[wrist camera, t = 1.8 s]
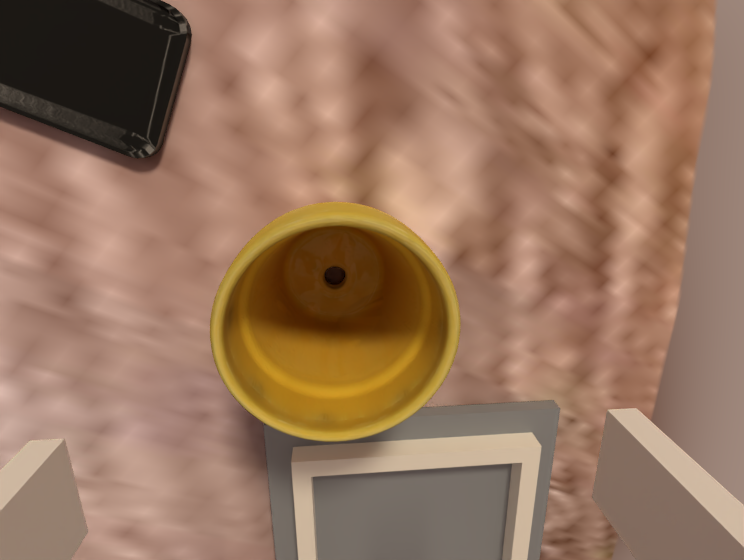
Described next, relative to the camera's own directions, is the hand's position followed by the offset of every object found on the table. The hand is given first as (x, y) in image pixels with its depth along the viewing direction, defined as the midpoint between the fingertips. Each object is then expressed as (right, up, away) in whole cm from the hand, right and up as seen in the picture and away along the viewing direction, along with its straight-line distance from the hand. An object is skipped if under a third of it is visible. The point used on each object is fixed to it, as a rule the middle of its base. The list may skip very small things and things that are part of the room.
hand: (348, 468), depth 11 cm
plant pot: (-2, +5, +17) cm, 18 cm away
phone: (-17, +17, +12) cm, 27 cm away
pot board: (+3, -14, +23) cm, 27 cm away
